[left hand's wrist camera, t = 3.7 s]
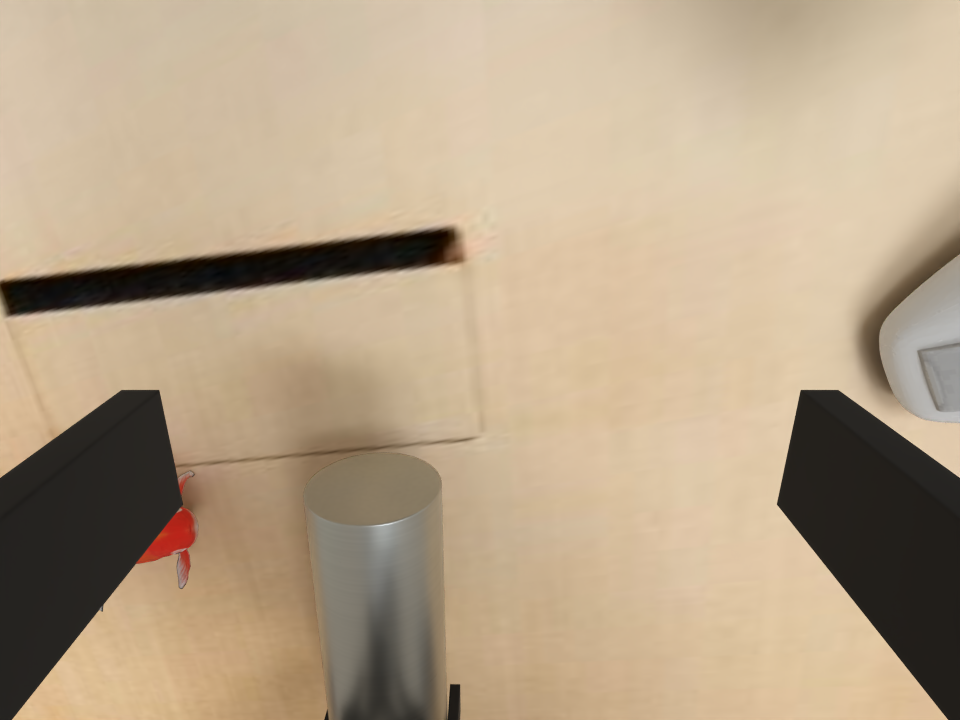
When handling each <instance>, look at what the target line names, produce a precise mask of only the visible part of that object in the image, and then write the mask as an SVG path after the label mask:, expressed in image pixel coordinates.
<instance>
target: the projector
mask: <svg viewBox="0 0 960 720" xmlns="http://www.w3.org/2000/svg"><path fill="white" fill-rule="evenodd" d="M879 349H880V355H881V360H882V364H883V367H884V371H885V373H886V376H887V379H888V382H889V384H890V387H891V389H892V392H893V394H894V395H895V397H896V399H897V400H898V401H899V403H900V404H901V405H902V406H903V407H904V408H905V409H906V410H907V411H909V412H910V413H912V414H914V415H915V416H917V417H919V418H921V419H924V420H928V421H935V422H947V423H960V254H959V255H958V256H956V257H955V258H954V259H953V260H951V261H950V262H949V263H947V264H946V265H945V266H944V267H942V268H941V269H940V270H939V271H937V272H936V273H935V274H934V275H932V276H931V277H930V278H929V279H927V280H926V281H925V282H924V283H923V284H922V285H920V286H919V287H918V288H917V289H916V290H914V291H913V292H912V293H911V294H910V295H909V296H908V297H907V298H906V299H904V300H903V301H902V302H901V303H900V304H899V305H898V306H897V307H896V308H895V309H894V310H893V311H892V312H891V313H890V314H889V316H888V317H887V318H886V319H885V321H884V322H883V325H882V327H881V329H880V334H879Z"/></svg>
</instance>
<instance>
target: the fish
mask: <svg viewBox="0 0 960 720" xmlns="http://www.w3.org/2000/svg"><path fill="white" fill-rule="evenodd" d="M194 475H195V474H194V473H193V472H191V471H189V472H187V473H185V474H183V475H181V476H180V477H179V478H178V483H179V488H180V492H181V496H182V492H183V489H184V485H185V483H186V480H187V479H188V478H189V477H193V476H194ZM197 535H198V522H197V519H196V517H195V515H194V514H193V513H192V512H191V511H190V510H189V509H186V508H183V507H181V508H180V509H179V510H178V511H177V513H176V514H175V515H174V516H173V518H172V519H171V520H170V521H169V523H168V524H167V525H166V526H165V528H164V529H163V530H162V531H161V533H160V534H159V535H158V536H157V538H156V539H155V540H154V542H153V543H152V544H151V545H150V547H149V548H148V549H147V550H146V552H145V553H144V554H143V555H142V557H141V558H140V559H139V560H138V562H137V563H136V564H139V563H145V562H150V561H155V560H158V559H160V558H162V557H165V556H170V555H172V554H178V553H179V558H178V562H177V573H178V581H179V588H180V589H183V587H184V586H185V585H186V582H187V580H188V573H189V569H190V566H191V565H190V555H189V553H188V551H187V548H189V547H190V546H191V545H192V544H193V543H194V542H195V540H196V538H197ZM99 610H101V611H102V612H103V606H102V607H101V608H100V609H99Z"/></svg>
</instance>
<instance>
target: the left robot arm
mask: <svg viewBox="0 0 960 720" xmlns="http://www.w3.org/2000/svg"><path fill="white" fill-rule="evenodd" d="M182 505H183V502H182V497H181V492H180V488H179V483H178V478H177V473H176V468H175V464H174V459H173V454H172V449H171V444H170V440H169V435H168V430H167V425H166V420H165V416H164V411H163V406H162V401H161V396H160V392H159V390H121V391H120V392H118V393H117V394H116V395H114V396H113V397H112V398H110V399H109V400H107V401H106V402H105V403H103V404H102V405H100V406H99V407H98V408H96V409H95V410H94V411H92V412H91V413H89V414H88V415H87V416H85V417H84V418H82V419H81V420H80V421H78V422H77V423H76V424H74V425H73V426H71V427H70V428H69V429H67V430H66V431H65V432H63V433H62V434H60V435H59V436H58V437H56V438H55V439H53V440H52V441H51V442H49V443H48V444H47V445H45V446H44V447H42V448H41V449H40V450H38V451H37V452H35V453H34V454H33V455H31V456H30V457H29V458H27V459H26V460H24V461H23V462H22V463H20V464H19V465H18V466H16V467H15V468H13V469H12V470H11V471H9V472H8V473H6V474H5V475H4V476H2V477H1V478H0V720H12V719H13V718H14V716H15V715H16V714H17V713H18V711H19V710H20V709H21V708H22V706H23V705H24V704H25V702H26V701H27V700H28V699H29V697H30V696H31V695H32V694H33V692H34V691H35V690H36V689H37V687H38V686H39V685H40V684H41V682H42V681H43V680H44V679H45V677H46V676H47V675H48V674H49V672H50V671H51V670H52V669H53V667H54V666H55V665H56V664H57V662H58V661H59V660H60V658H61V657H62V656H63V655H64V653H65V652H66V651H67V650H68V648H69V647H70V646H71V645H72V643H73V642H74V641H75V640H76V638H77V637H78V636H79V635H80V633H81V632H82V631H83V630H84V628H85V627H86V626H87V625H88V623H89V622H90V621H91V619H92V618H93V617H94V616H95V614H96V613H97V612H98V611H99V609H100V608H101V607H102V606H103V604H104V603H105V602H106V601H107V599H108V598H109V597H110V596H111V594H112V593H113V592H114V591H115V589H116V588H117V587H118V586H119V584H120V583H121V582H122V581H123V579H124V578H125V577H126V575H127V574H128V573H129V572H130V570H131V569H132V568H133V567H134V565H135V564H136V563H137V562H138V560H139V559H140V558H141V557H142V555H143V554H144V553H145V552H146V550H147V549H148V548H149V547H150V545H151V544H152V543H153V542H154V540H155V539H156V538H157V536H158V535H159V534H160V533H161V531H162V530H163V529H164V528H165V526H166V525H167V524H168V523H169V521H170V520H171V519H172V518H173V516H174V515H175V514H176V513H177V511H178V510H179V509H180V508H181V506H182ZM777 505H778V506H779V508H780V509H781V510H782V511H783V513H784V514H785V515H786V516H787V518H788V519H789V520H790V521H791V523H792V524H793V525H794V526H795V528H796V529H797V530H798V531H799V533H800V534H801V535H802V536H803V538H804V539H805V540H806V542H807V543H808V544H809V545H810V547H811V548H812V549H813V550H814V552H815V553H816V554H817V555H818V557H819V558H820V559H821V560H822V562H823V563H824V564H825V565H826V567H827V568H828V569H829V570H830V572H831V573H832V574H833V575H834V577H835V578H836V579H837V581H838V582H839V583H840V584H841V586H842V587H843V588H844V589H845V591H846V592H847V593H848V594H849V596H850V597H851V598H852V599H853V601H854V602H855V603H856V604H857V606H858V607H859V608H860V609H861V611H862V612H863V613H864V614H865V616H866V617H867V618H868V619H869V621H870V622H871V623H872V625H873V626H874V627H875V628H876V630H877V631H878V632H879V633H880V635H881V636H882V637H883V638H884V640H885V641H886V642H887V643H888V645H889V646H890V647H891V648H892V650H893V651H894V652H895V653H896V655H897V656H898V657H899V658H900V660H901V661H902V662H903V664H904V665H905V666H906V667H907V669H908V670H909V671H910V672H911V674H912V675H913V676H914V677H915V679H916V680H917V681H918V682H919V684H920V685H921V686H922V687H923V689H924V690H925V691H926V692H927V694H928V695H929V696H930V697H931V699H932V700H933V701H934V702H935V704H936V705H937V706H938V708H939V709H940V710H941V711H942V713H943V714H944V715H945V716H946V718H947V719H948V720H960V478H959V477H958V476H956V475H955V474H954V473H952V472H951V471H949V470H948V469H947V468H945V467H944V466H942V465H941V464H940V463H938V462H937V461H936V460H934V459H933V458H931V457H930V456H929V455H927V454H926V453H925V452H923V451H922V450H920V449H919V448H918V447H916V446H915V445H913V444H912V443H911V442H909V441H908V440H907V439H905V438H904V437H902V436H901V435H900V434H898V433H897V432H895V431H894V430H893V429H891V428H890V427H889V426H887V425H886V424H884V423H883V422H882V421H880V420H879V419H878V418H876V417H875V416H873V415H872V414H871V413H869V412H868V411H866V410H865V409H864V408H862V407H861V406H860V405H858V404H857V403H855V402H854V401H853V400H851V399H850V398H848V397H847V396H846V395H844V394H843V393H842V392H840V391H839V390H801V392H800V396H799V401H798V406H797V411H796V416H795V420H794V425H793V430H792V435H791V440H790V444H789V449H788V454H787V459H786V464H785V468H784V473H783V478H782V483H781V488H780V492H779V497H778V502H777Z"/></svg>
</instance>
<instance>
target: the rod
mask: <svg viewBox="0 0 960 720" xmlns="http://www.w3.org/2000/svg"><path fill="white" fill-rule="evenodd" d="M303 500H304V508H305V517H306V526H307V534H308V543H309V552H310V560H311V569H312V578H313V586H314V595H315V604H316V612H317V621H318V630H319V638H320V647H321V656H322V664H323V673H324V682H325V690H326V699H327V707H328V716H329V720H447V681H446V640H445V599H444V558H443V516H442V482H441V478H440V476H439V474H438V472H437V471H436V469H435V468H434V467H432V466H431V465H430V464H428V463H427V462H425V461H423V460H421V459H418V458H416V457H413V456H409V455H404V454H397V453H370V454H362V455H357V456H352V457H349V458H345V459H342V460H340V461H337V462H335V463H332V464H330V465H328V466H327V467H325V468H323V469H322V470H320V471H319V472H317V473H316V474H315V475H314V476H313V477H312V478H311V479H310V480H309V482H308V483H307V485H306V487H305V489H304V494H303Z"/></svg>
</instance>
